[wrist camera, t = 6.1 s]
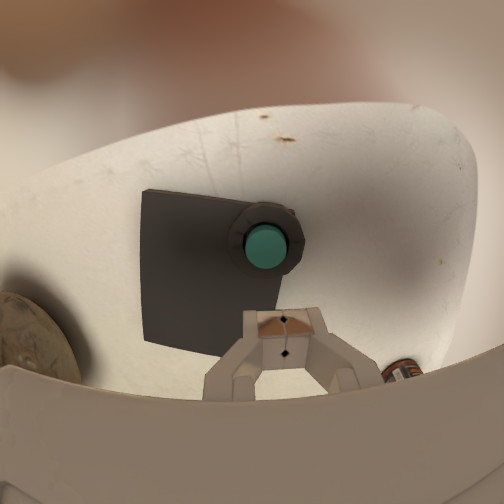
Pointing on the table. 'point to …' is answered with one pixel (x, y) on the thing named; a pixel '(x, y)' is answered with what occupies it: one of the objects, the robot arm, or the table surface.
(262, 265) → the button
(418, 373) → the supplement bottle
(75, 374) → the bowl
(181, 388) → the table surface
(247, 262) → the scale
